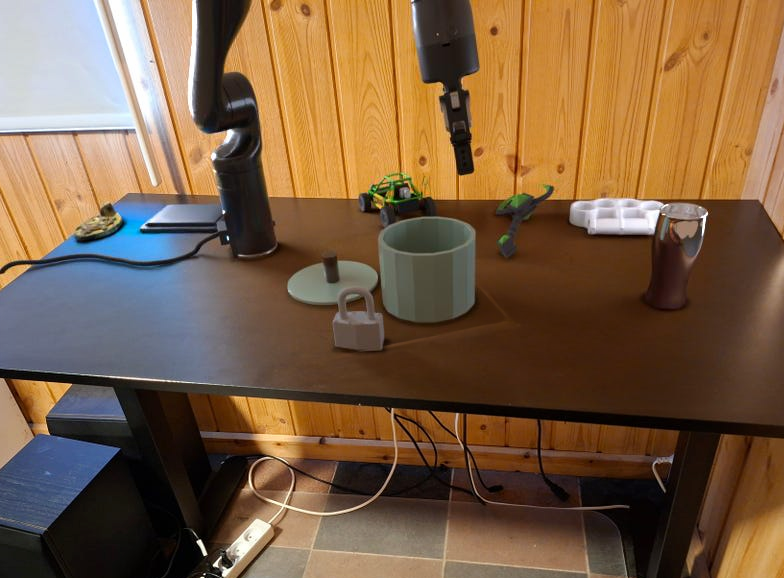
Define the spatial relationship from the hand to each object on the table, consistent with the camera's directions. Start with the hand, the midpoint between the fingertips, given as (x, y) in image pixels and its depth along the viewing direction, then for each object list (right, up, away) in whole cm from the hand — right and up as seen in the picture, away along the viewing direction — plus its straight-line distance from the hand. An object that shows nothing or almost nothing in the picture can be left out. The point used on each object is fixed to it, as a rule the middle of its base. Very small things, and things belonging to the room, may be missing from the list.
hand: (465, 167), depth 86 cm
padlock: (-15, -24, +10) cm, 30 cm away
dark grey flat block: (-55, +6, +60) cm, 82 cm away
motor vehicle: (-8, +5, +53) cm, 54 cm away
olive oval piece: (-76, +4, +59) cm, 97 cm away
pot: (-4, -17, +20) cm, 26 cm away
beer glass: (+34, -17, +15) cm, 41 cm away
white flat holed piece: (+36, +1, +41) cm, 54 cm away
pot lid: (-20, -13, +27) cm, 36 cm away
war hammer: (+16, 0, +42) cm, 45 cm away
